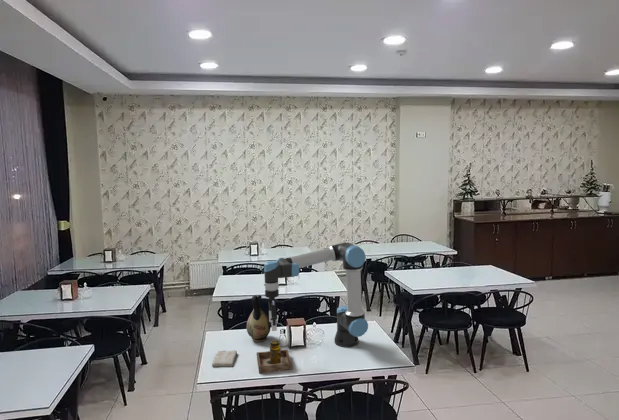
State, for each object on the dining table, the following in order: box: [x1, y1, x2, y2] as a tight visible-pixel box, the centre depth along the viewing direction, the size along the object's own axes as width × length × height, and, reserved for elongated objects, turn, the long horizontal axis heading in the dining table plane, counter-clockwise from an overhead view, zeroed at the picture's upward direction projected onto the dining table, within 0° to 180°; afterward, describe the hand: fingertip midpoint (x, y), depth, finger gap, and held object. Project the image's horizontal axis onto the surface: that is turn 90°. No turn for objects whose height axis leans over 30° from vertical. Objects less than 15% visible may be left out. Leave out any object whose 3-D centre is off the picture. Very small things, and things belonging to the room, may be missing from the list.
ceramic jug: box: [246, 294, 272, 343], centre depth 282 cm, size 17×15×30 cm
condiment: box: [265, 340, 283, 365], centre depth 247 cm, size 7×8×12 cm
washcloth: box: [211, 349, 238, 368], centre depth 255 cm, size 12×18×3 cm, turn 2°
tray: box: [256, 349, 293, 374], centre depth 248 cm, size 18×18×4 cm
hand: (273, 326), depth 246 cm, fingers open, 13 cm apart
